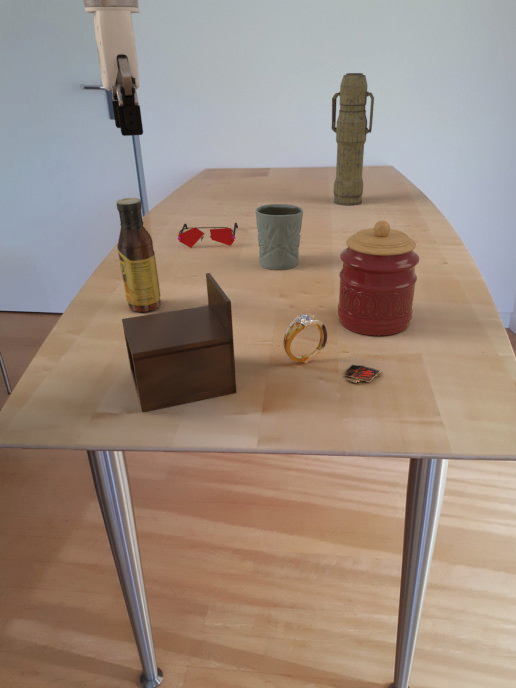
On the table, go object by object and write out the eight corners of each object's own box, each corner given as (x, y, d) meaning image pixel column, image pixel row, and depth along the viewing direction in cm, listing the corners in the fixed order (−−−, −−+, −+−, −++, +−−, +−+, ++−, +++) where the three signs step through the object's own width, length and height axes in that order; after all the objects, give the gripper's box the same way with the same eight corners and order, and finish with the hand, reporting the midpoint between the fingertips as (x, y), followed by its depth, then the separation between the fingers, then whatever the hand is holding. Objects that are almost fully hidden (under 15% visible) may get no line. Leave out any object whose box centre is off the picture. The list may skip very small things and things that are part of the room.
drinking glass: (247, 263, 122) (245, 209, 116) (279, 252, 128) (279, 200, 122) (280, 274, 116) (279, 218, 110) (311, 262, 122) (312, 208, 116)
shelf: (142, 412, 73) (125, 317, 66) (131, 373, 82) (115, 285, 75) (236, 392, 77) (231, 301, 70) (216, 357, 86) (209, 272, 79)
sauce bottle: (133, 300, 105) (116, 194, 95) (165, 300, 105) (151, 194, 95) (123, 314, 100) (104, 204, 89) (157, 314, 99) (142, 204, 89)
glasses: (178, 249, 131) (175, 228, 129) (186, 229, 146) (184, 210, 143) (236, 248, 132) (235, 227, 129) (238, 228, 146) (237, 209, 143)
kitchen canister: (427, 326, 94) (441, 224, 85) (367, 344, 89) (375, 237, 80) (379, 300, 104) (388, 206, 95) (322, 315, 99) (326, 217, 90)
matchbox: (349, 365, 83) (349, 362, 83) (382, 370, 81) (383, 368, 81) (342, 381, 79) (342, 378, 79) (377, 386, 78) (377, 384, 77)
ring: (288, 371, 82) (288, 323, 78) (280, 361, 84) (279, 314, 80) (330, 362, 84) (332, 315, 80) (321, 353, 87) (322, 306, 82)
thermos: (329, 197, 174) (334, 72, 156) (367, 199, 172) (376, 72, 154) (326, 204, 166) (331, 74, 148) (365, 206, 165) (375, 74, 147)
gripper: (81, 4, 83) (101, 126, 92) (85, -5, 69) (108, 140, 78) (131, 4, 86) (146, 123, 94) (145, -4, 72) (161, 137, 80)
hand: (129, 131), depth 86 cm, fingers open, 9 cm apart
